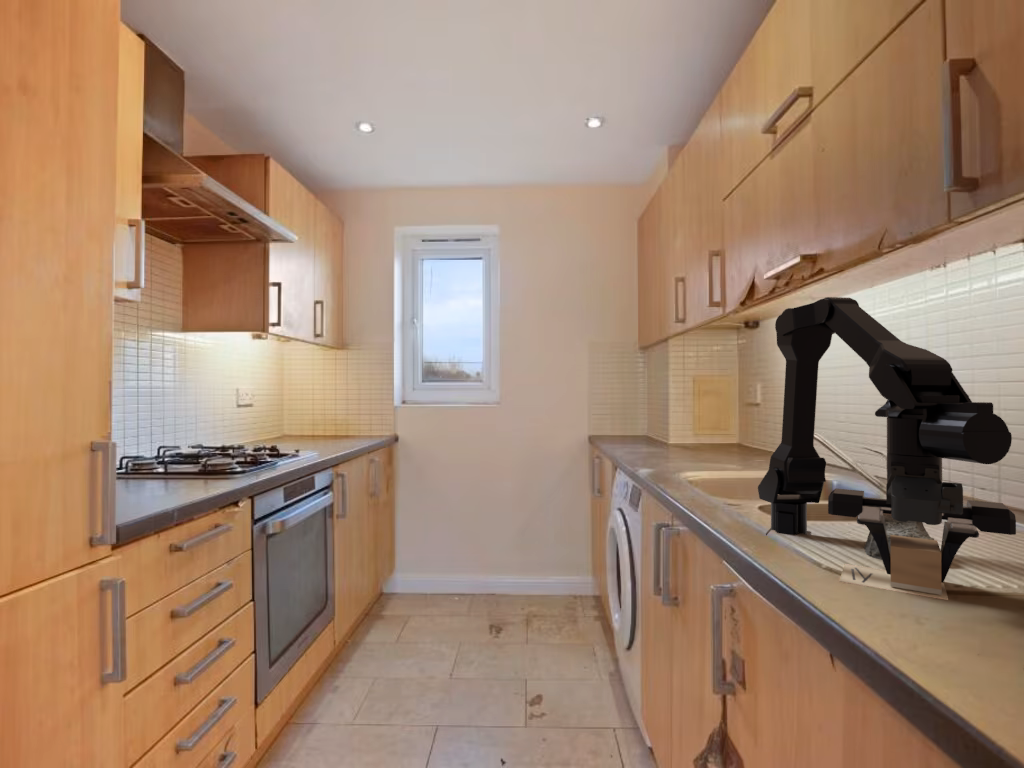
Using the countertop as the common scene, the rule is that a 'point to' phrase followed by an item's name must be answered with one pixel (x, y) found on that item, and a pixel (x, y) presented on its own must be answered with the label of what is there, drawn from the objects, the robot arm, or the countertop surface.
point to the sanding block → (915, 564)
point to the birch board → (879, 580)
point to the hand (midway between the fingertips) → (914, 577)
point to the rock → (897, 529)
